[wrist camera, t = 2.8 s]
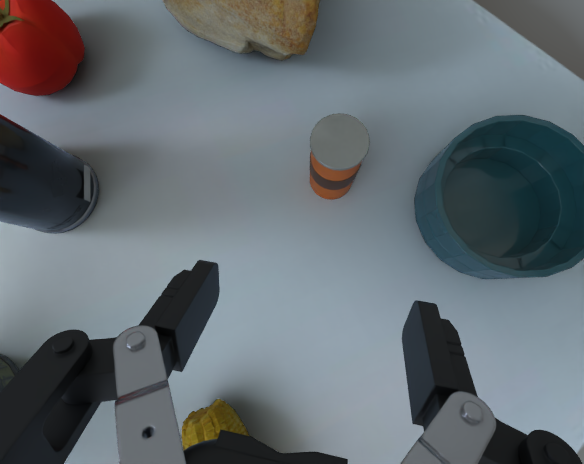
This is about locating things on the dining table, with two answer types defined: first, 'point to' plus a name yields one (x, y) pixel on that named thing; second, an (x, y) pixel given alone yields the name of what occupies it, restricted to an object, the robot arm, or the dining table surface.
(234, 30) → the rough brown rock
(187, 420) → the food
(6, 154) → the robot arm
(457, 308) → the dining table surface
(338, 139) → the tube
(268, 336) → the dining table surface
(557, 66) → the dining table surface
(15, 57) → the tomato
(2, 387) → the thermos
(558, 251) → the bowl
